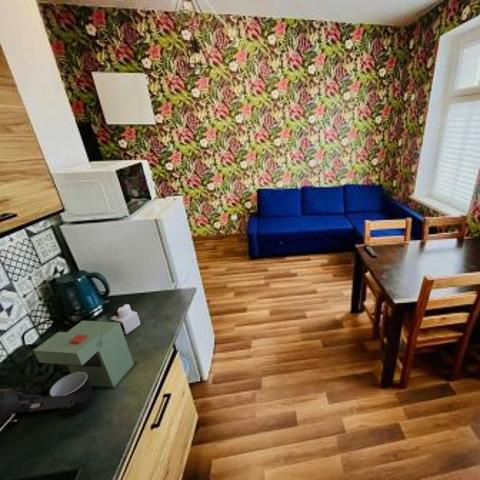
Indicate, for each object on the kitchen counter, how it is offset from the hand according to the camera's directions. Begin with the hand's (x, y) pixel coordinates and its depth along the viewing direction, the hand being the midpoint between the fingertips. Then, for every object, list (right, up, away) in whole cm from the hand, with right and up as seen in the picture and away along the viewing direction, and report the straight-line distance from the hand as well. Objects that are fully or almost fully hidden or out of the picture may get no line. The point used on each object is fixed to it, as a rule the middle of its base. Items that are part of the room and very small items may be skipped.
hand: (67, 394), depth 84 cm
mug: (0, -6, +3) cm, 7 cm away
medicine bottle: (-8, +9, +37) cm, 39 cm away
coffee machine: (0, -2, +12) cm, 12 cm away
